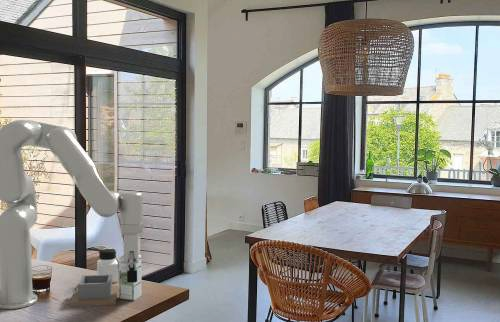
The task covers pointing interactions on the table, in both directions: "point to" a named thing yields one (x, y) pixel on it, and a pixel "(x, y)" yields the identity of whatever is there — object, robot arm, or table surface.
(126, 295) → the syrup box
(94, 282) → the socket
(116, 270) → the medicine bottle
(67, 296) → the table surface
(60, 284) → the table surface
